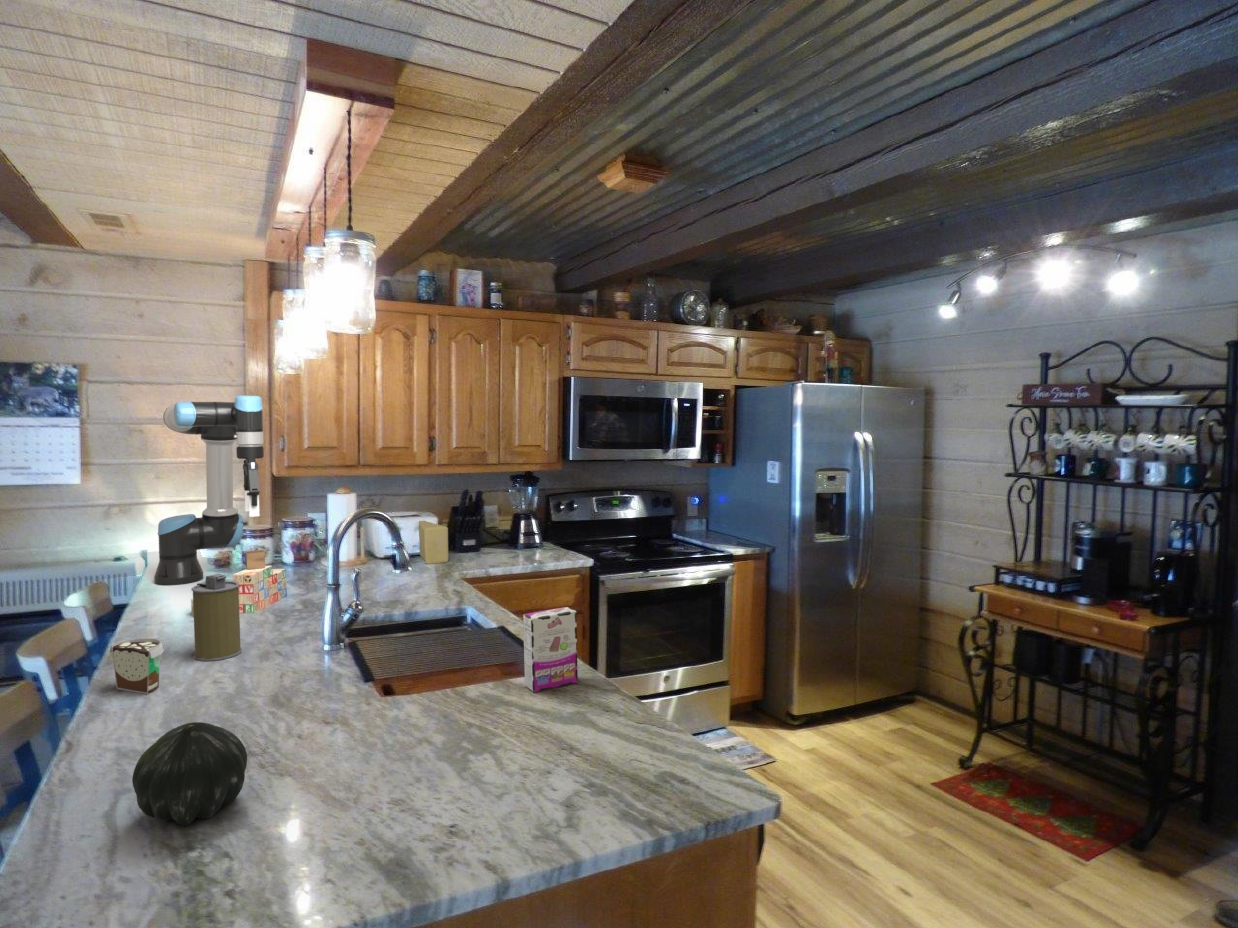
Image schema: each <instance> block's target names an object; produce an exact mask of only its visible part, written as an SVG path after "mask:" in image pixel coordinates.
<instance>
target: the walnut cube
mask: <svg viewBox="0 0 1238 928" xmlns="http://www.w3.org/2000/svg"><path fill="white" fill-rule="evenodd" d="M265 557H266V553H265V551H264V549H257V550H256V549H254V550H245V569H247V570H251V569H261V568H265V566H266V559H265Z"/></svg>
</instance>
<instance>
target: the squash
mask: <svg viewBox="0 0 1238 928" xmlns="http://www.w3.org/2000/svg"><path fill="white" fill-rule="evenodd" d="M245 747H246V746H244V744H243V742H242V740H241V739H240V738H239V737H238V736H236V734H234V733H233V732H231V731H230V730H228V729H225V728H223V727H220V726H217V725H214V724H211V723H208V722H202V721H198V722H197V721H196V722H195V721H194V722H193V721H192V722H188V723H184V724H181V725H179V726H177V727H175V728H172V729H170V730H168V731H167V732H166V733H164V734H163V735H162V736H160V737H159V738H158V739H157V740H156V742H155V743H152V745H150V746H149V747H148V748H147V749H145V751H144V752H143V753H142V754H141V756H139V759H138V761H137V762H136V765H135V767H134V769H133V773H132V778H131V779H132V780H131V781H132V787H133V790H134V793H135V794H136V795H135V796H136V802H137V805H138V807H139V809H140V811H141V812H142V813H143V814H144V815H145V816H147V817H150V818H153V819H155V818H156V819H158V820H160V821H163V822H164V821H167V822H169V821H172V820H173V821H174V822H175V823H177V824H179V825H181V826H187V825H190V824H191V823H192V822H194V821H195V819H196V818H199V819H200V820H201V819H202V820H208V819H210V818H211V817H212V816H214V815H215V814H216V813H217V812H218V810H219V809H222V808H225V807H227V806H229V805H231V803H233V802H234V801H235V800H236V798H237V797H238V796H239V795H240V793H241V791H242V789H243V786H244V782H245V778H246V777H245V776H246V775H245V773H246V772H245V771H246V769H247V765H248V754H247V751H246V748H245Z"/></svg>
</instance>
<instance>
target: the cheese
mask: <svg viewBox="0 0 1238 928" xmlns="http://www.w3.org/2000/svg"><path fill="white" fill-rule="evenodd" d="M418 537H419V555H420V557H421V558H422V559H423V560H424V562H425V564H426V565H433V564H442V563H447V562H449V528H448V527H447V526H444V525H441V524H437V523H433V522H429V521H427V520H419V521H418Z"/></svg>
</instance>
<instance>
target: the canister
mask: <svg viewBox="0 0 1238 928" xmlns="http://www.w3.org/2000/svg"><path fill="white" fill-rule="evenodd" d="M226 579H227V576H226V575H225V574H220V573H214V574H211V575H207V576H205V581H203V582H199V583H196V585H194V586H193V587H191V588H190V589H191V592H192V599H193V610H194V616H193V633H194V635H193V636H194V655H193V658H194V659H195V661H196V660H197V661H200V662H216V661H221V660H226V659H231V658H233V657H236V656H238V655H239V654H241V653H242V651H243V650H242V647H241V622H240V619H241V618H240V613H239V588H238V587H239V583H238V582H233V580H232V581H231V580H229V581H227V580H226Z"/></svg>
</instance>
